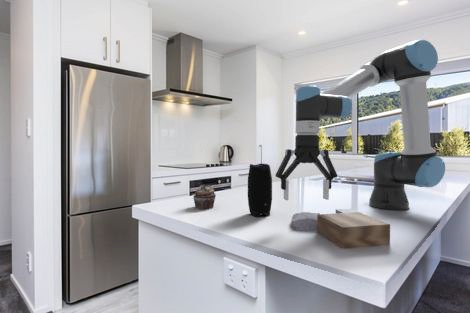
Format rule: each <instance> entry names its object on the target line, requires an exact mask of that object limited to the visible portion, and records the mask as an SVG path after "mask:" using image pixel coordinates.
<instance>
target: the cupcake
mask: <svg viewBox="0 0 470 313" xmlns="http://www.w3.org/2000/svg"><path fill="white" fill-rule="evenodd" d="M215 192H216V191H215V189H214V186H213V184H200V186H199V187H198V188H197V189H196V191H195V194H194V196H192V197H193V202H194V207H195V209H196V210H205V211H206V210H211V209H213V208H214V206H215V205H214V204H215V201H216V197H217V195H216V194H215Z"/></svg>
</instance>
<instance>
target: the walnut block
mask: <svg viewBox="0 0 470 313" xmlns="http://www.w3.org/2000/svg"><path fill="white" fill-rule="evenodd" d="M359 212H360V211H359ZM359 212H353V213H336V212H335V213H320V214H318V215H317V230H316V232H317V234H319V235H320V236H321V237H323V238H324V239H327V240H328V241H329V242H330V243H332V244H335V246H338V247H339V248H340V249H342V250H347V249H359V248H370V247H383V246H384V247H385V246H390V245H391V223H388V222H387V221H386V222H385V221H382V220H380V219H377V218H375V217H372V216H370V215H367V214H364V213H362V212H361V213H359Z"/></svg>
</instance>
